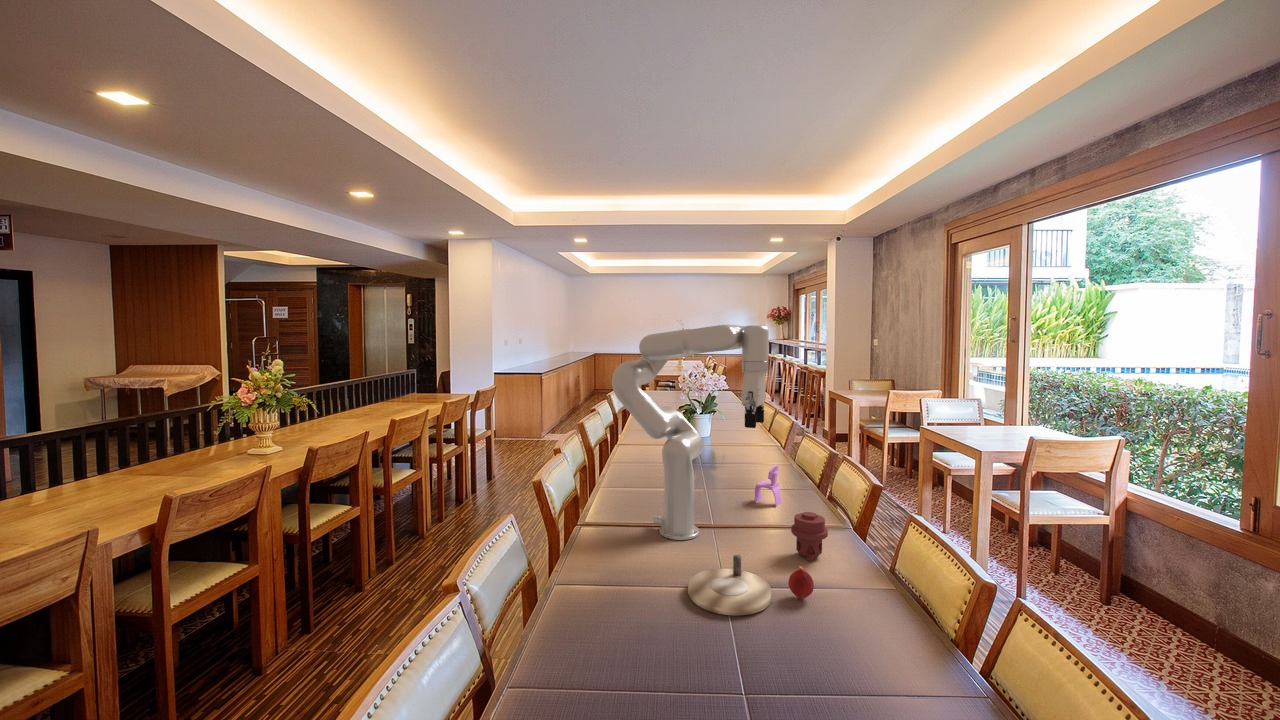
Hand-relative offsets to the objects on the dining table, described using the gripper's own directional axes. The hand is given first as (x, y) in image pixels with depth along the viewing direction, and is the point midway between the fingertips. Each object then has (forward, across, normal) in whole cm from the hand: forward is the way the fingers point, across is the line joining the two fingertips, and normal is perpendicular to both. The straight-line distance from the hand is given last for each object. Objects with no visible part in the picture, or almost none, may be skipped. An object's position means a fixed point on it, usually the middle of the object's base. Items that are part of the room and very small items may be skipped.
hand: (754, 424), depth 157 cm
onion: (+37, +26, +18) cm, 49 cm away
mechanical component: (+37, 0, +16) cm, 40 cm away
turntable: (+37, +32, +2) cm, 49 cm away
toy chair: (+37, -42, -5) cm, 56 cm away
